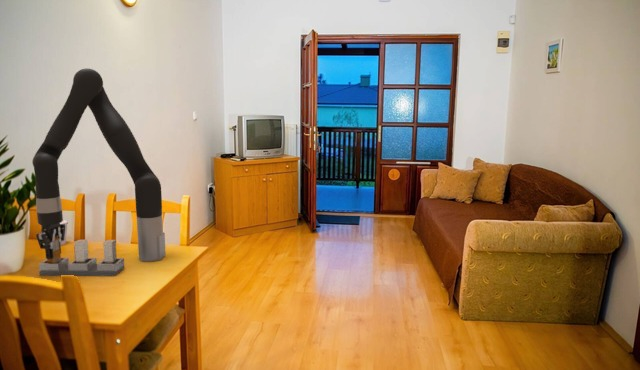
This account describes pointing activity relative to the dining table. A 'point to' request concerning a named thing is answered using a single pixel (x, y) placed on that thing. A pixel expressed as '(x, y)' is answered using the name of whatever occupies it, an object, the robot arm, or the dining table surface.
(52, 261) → the supplement box
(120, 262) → the rail
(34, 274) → the dining table surface
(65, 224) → the smoothie
